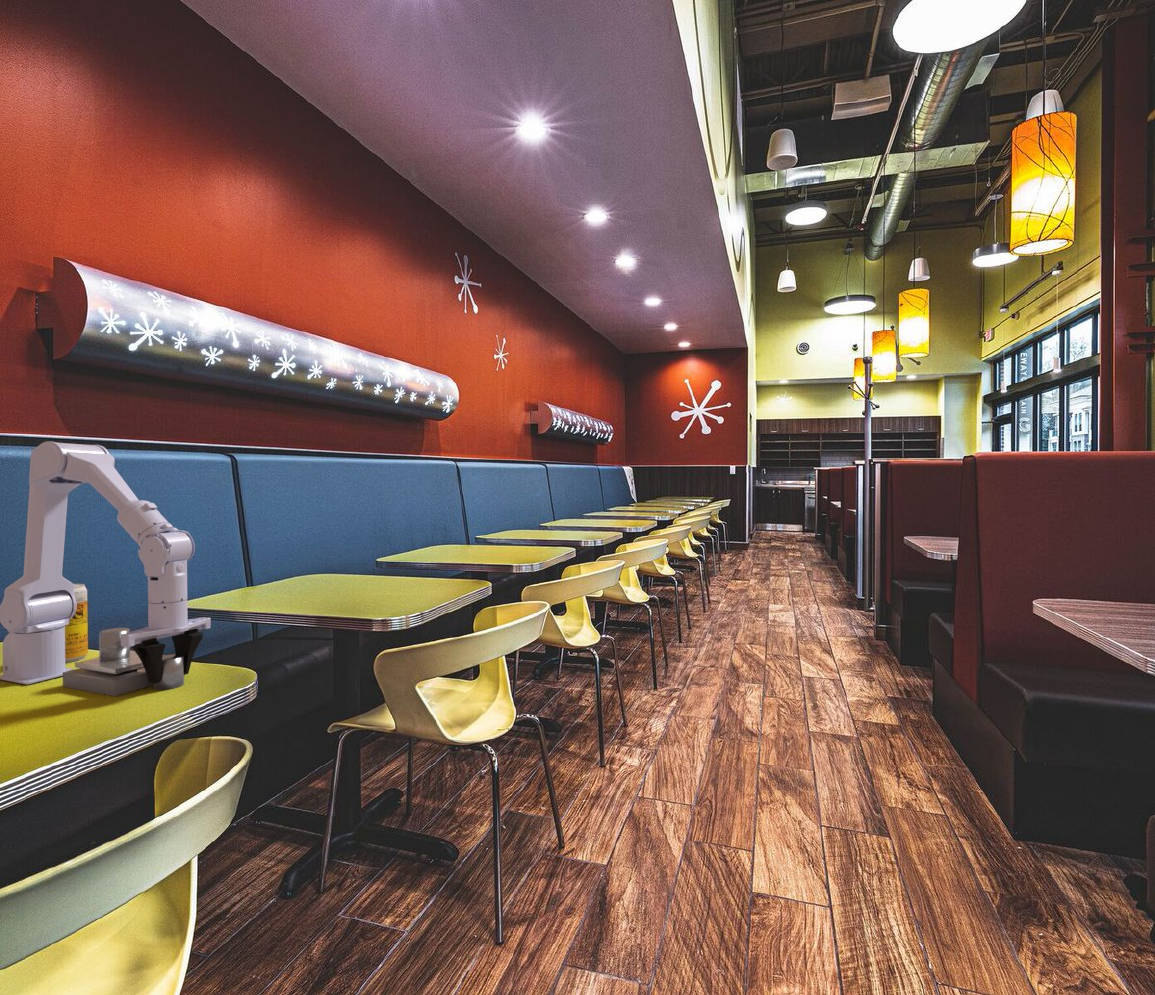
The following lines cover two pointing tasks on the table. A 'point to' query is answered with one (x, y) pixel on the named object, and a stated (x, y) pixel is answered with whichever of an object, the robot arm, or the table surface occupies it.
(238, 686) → the table surface
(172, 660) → the cylinder
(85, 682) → the scale base
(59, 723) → the table surface
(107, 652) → the steel weight
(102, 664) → the scale pan
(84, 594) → the beer can
